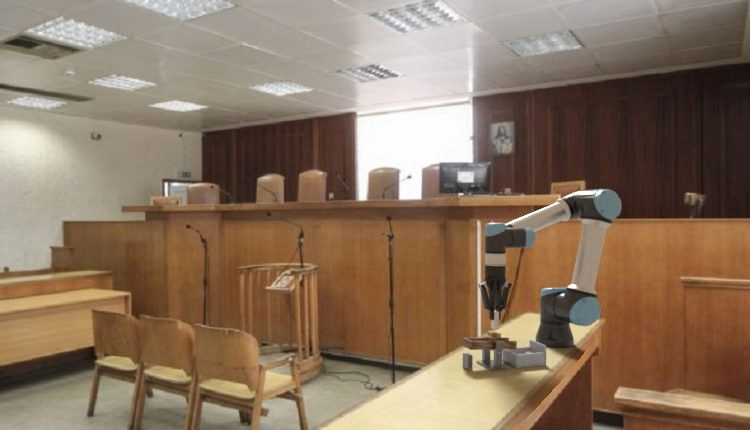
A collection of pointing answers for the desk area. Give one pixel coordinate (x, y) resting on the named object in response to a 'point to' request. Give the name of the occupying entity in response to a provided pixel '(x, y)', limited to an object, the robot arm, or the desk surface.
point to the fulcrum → (487, 358)
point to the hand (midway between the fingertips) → (494, 328)
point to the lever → (488, 342)
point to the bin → (526, 355)
